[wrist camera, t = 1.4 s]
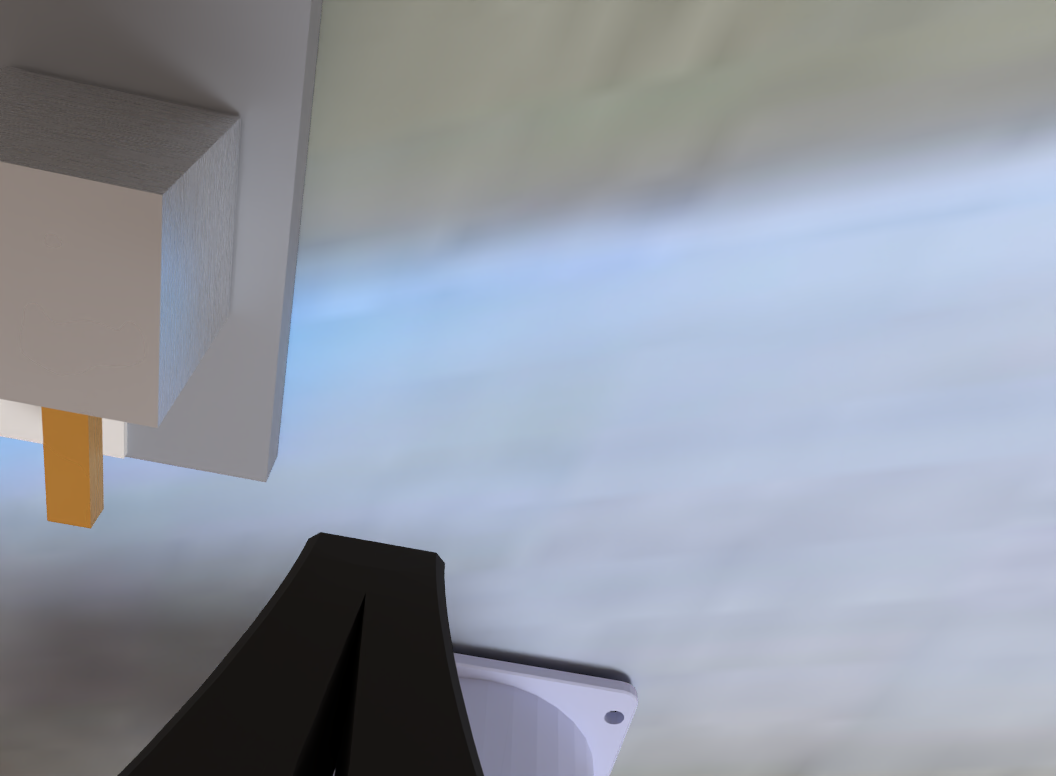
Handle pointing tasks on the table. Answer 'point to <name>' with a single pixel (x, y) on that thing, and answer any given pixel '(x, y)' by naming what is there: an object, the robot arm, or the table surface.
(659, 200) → the table surface
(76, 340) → the grey block
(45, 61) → the gauge board
